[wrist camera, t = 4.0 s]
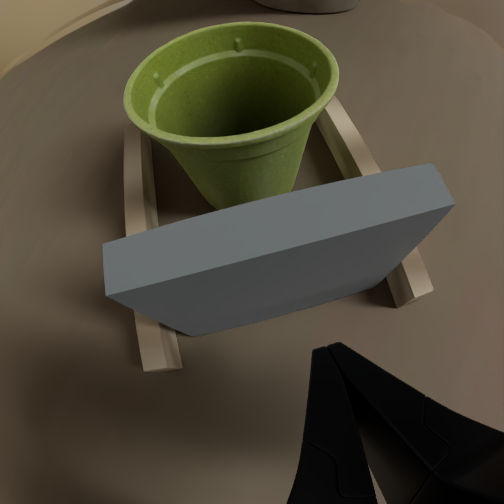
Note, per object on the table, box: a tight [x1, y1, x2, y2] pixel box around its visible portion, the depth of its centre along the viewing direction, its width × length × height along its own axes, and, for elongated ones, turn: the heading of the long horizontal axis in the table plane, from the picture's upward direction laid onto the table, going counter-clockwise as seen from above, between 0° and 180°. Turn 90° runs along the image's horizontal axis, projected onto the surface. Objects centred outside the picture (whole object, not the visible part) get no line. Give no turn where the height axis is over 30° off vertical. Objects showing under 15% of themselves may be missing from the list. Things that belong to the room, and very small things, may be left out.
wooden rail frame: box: [124, 95, 434, 372], centre depth 17 cm, size 16×14×2 cm
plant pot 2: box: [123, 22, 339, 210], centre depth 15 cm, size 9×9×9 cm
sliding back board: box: [102, 163, 455, 337], centre depth 12 cm, size 4×10×9 cm, turn 104°
